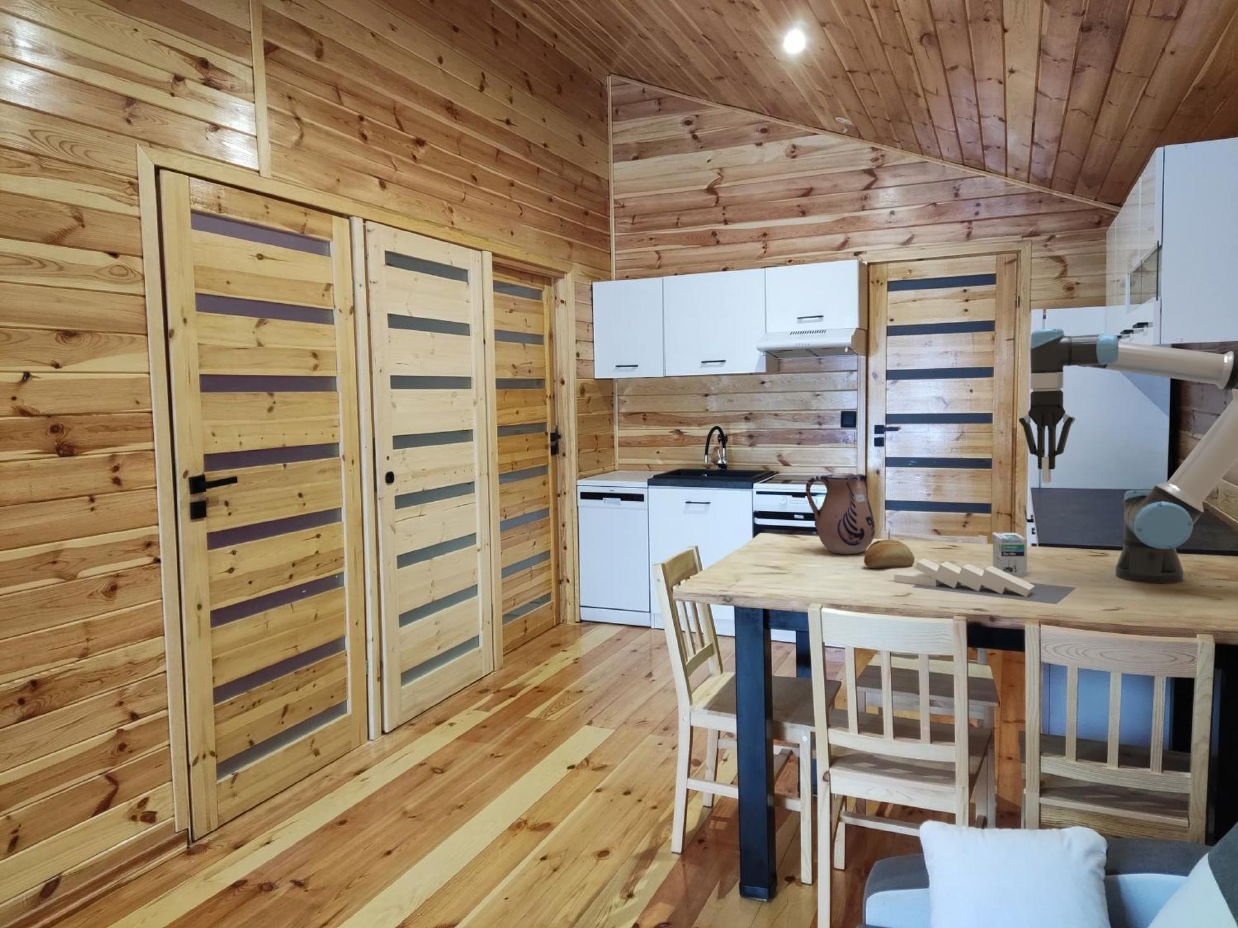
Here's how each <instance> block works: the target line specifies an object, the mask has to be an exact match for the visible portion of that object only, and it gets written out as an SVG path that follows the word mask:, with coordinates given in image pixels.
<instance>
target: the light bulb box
mask: <svg viewBox="0 0 1238 928" xmlns="http://www.w3.org/2000/svg"><path fill="white" fill-rule="evenodd" d="M1027 540H1028V539H1027V538H1026V537H1024V536H1022V535H1020V534H1019V533H1017V532H992V566H993V567H995V568H997V569H1000V570H1002V571H1004V572H1006V573H1008V574H1010V575H1013V576H1015V577H1027V576H1028V565H1027V564H1028V560H1027V559H1028V552H1027V551H1028V550H1027V549H1028V545H1027V543H1028V541H1027Z"/></svg>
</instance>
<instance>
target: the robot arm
mask: <svg viewBox="0 0 1238 928" xmlns="http://www.w3.org/2000/svg"><path fill="white" fill-rule="evenodd" d="M1029 350H1030V351H1029V353H1030V360H1029V361H1030V380H1029V381H1030V383H1029V384H1030V385H1029V386H1030V387H1029V389H1030V390H1032V391H1031V392H1030V394H1029V395H1030V396H1029V397H1030V399H1029V400H1030V401H1029V402H1030V405H1029V406H1030V407H1029V410H1028V411H1027V413H1028V414H1026V415H1025V416H1023V417H1020V418H1019V419H1018V422H1019V423H1020V424H1021V426H1022V427H1023V431H1024V435H1025V439H1026V442H1027V446H1028V447H1027V448H1028V451H1029V454H1031V455H1034V456H1036V457H1037V469H1038V470H1041V483H1043V484H1044V483H1045V484H1047V483H1048V484H1049V483H1051V482H1052V470H1055V469H1056V457H1057V456H1059V455H1062V454H1063V453H1064V451H1065V447H1066V444H1067V441H1068V437H1069V433H1070V430H1071V426H1072V425H1073V424H1074V422H1075V420H1076V418H1075V417H1074V416H1070V415H1069V414H1067V413H1066V409H1064V392H1063V390H1062V389H1063V388H1064V367H1066V366H1067V367H1070V366H1071V367H1073V366H1077V367H1080V368H1082V367H1083V368H1095V369H1101V370H1102V369H1104V370H1111V371H1116V372H1125V373H1132V374H1139V375H1145V376H1146V375H1147V376H1153V377H1161V378H1168V379H1176V380H1180V381H1181V380H1183V381H1188V382H1189V381H1190V382H1197V383H1205V384H1210V385H1216V386H1217V387H1218V389H1219V390H1225V391H1231V393H1232V397H1233V398H1232V400H1231V402H1230V403H1229V404H1228V405H1227V407H1226V408H1225V409H1224V410H1223V411H1222V413H1221V414H1220V416H1219V417H1218V418H1217V419H1216V421H1215V422H1214V423H1213V424H1212V425H1211V427H1210V428H1209V429H1208V431H1207V432H1206V433H1205V434H1204V435H1203V437H1202V438H1201V439H1200V440H1199V442H1198V443H1197V445H1196V446H1195V447H1194V448H1193V449H1192V450H1191V451H1190V452H1189V454H1188V456H1186V458H1185V459H1184V461H1183V462H1182V463H1181V464H1180V466H1179V467H1178V468H1177V469H1176V470H1175V472H1174V473H1173V474H1172V476H1171V477H1170V478H1169V480H1168V481H1167V482H1162V483H1156V484H1155V486H1154V487H1153V488H1152V489H1149V490H1148V489H1147V490H1143V489H1142V490H1141V489H1139V490H1137V489H1136V490H1135V489H1133V490H1131V489H1130V490H1126V492H1125V493H1124V498H1123V501H1122V503H1123V548H1122V550H1121V552H1120V556H1119V557H1118V560H1117V563H1116V566H1115V576H1116V577H1118V578H1121V579H1124V580H1129V581H1134V582H1140V583H1152V584H1169V583H1170V584H1171V583H1178V582H1182V581H1184V578H1185V577H1184V575H1185V573H1184V569H1183V566H1182V564H1181V561H1180V558H1179V554H1178V553H1177V548H1178V547H1180V546H1181V545H1183V544H1185V542H1187V541H1188V539H1190V537H1191V534H1192V532H1193V529H1194V525H1195V523H1196V522H1197V521H1198V519H1199V518H1200V517H1201V516H1202V514H1203V513H1204V512H1205V511H1204V505H1203V502H1204V501H1205V500H1206V499H1207V497H1208V495H1210V493H1211V492H1212V491H1213V490H1214V489H1215V487H1216V486H1217V485H1218V483H1220V481H1221V480H1222V479H1223V478H1224V476H1225V475H1226V474H1227V473H1228V472H1229V470H1230V469H1231V468H1232V466H1233V465H1234V464H1235V463H1236V462H1237V460H1238V351H1233V350H1232V351H1230V350H1229V351H1228V352H1226V353H1224V354H1222V353H1214V352H1207V351H1199V350H1193V349H1192V350H1190V349H1184V348H1183V349H1181V348H1175V347H1168V346H1166V347H1165V346H1158V345H1150V344H1141V343H1135V342H1125V341H1119V339H1118V336H1117V335H1116V334H1114V333H1099V334H1097V333H1096V334H1085V335H1065V334H1064V330H1063V329H1062V328H1045V329H1044V328H1043V329H1042V328H1041V329H1036V330H1034V331H1032V332H1031V335H1030V347H1029ZM1062 419H1063V420H1062ZM1031 420H1032V421H1033V423H1034V424H1035V426H1036V431H1037V435H1036V437H1037V438H1036V439H1037V441H1035V437H1034V433H1033V430H1032V425H1031V423H1032V422H1031ZM1061 420H1062V423H1063V425H1062V427H1061V431H1060V432H1061V433H1060V436H1059V439H1058V443H1057V425H1058V424H1059V423H1060V422H1061ZM1046 427H1047V440H1048V441H1047V444H1048V445H1047V446H1048V447H1047V448H1048V450H1047V456H1046V448H1045V447H1046ZM1036 442H1037V445H1036Z"/></svg>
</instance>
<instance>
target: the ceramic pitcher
mask: <svg viewBox="0 0 1238 928" xmlns="http://www.w3.org/2000/svg"><path fill="white" fill-rule="evenodd" d="M867 477H868V475H867V474H863V473H858V474H854V473H852V472H850V473H849V472H848V473H846V472H843V473H835V474H834V473H832V474H831V473H830V474H826V475H824V474H823V475H814V476H812V477H810V478H809V479H808V480H807V482H806V484H805V495H806V498H807V500H808V501H807V502H808V503H809V506H810V508H811V510H812V512H813V515H814V527H815V529H816V530H817V533H818V538H819V540H820V542H821V544H822V545H823V546H824V547H825V548H826V550H828V551H829V552H831V553H834V554H838V553H839V554H838V555H855V554H860V553H863V552H864V551H866V550H867V549H868V548H869V546H870V545H871V544H872V542H873V540H874V537H875V532H876V531H875V530H876V526H875V525H876V524H875V520H874V515H873V511H872V507H871V505H870V500H869V497H868V492H867V480H868V479H867ZM816 482H821V483H823V484H824V486H825V488H826V493H825V496H824V499H823V502H822V504H821V507H820V508H819V509H818V507H817V505H816V504H815V502H814V500H813V496H812V494H811V493H812V492H811V488H812V485H813V484H814V483H816Z"/></svg>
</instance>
